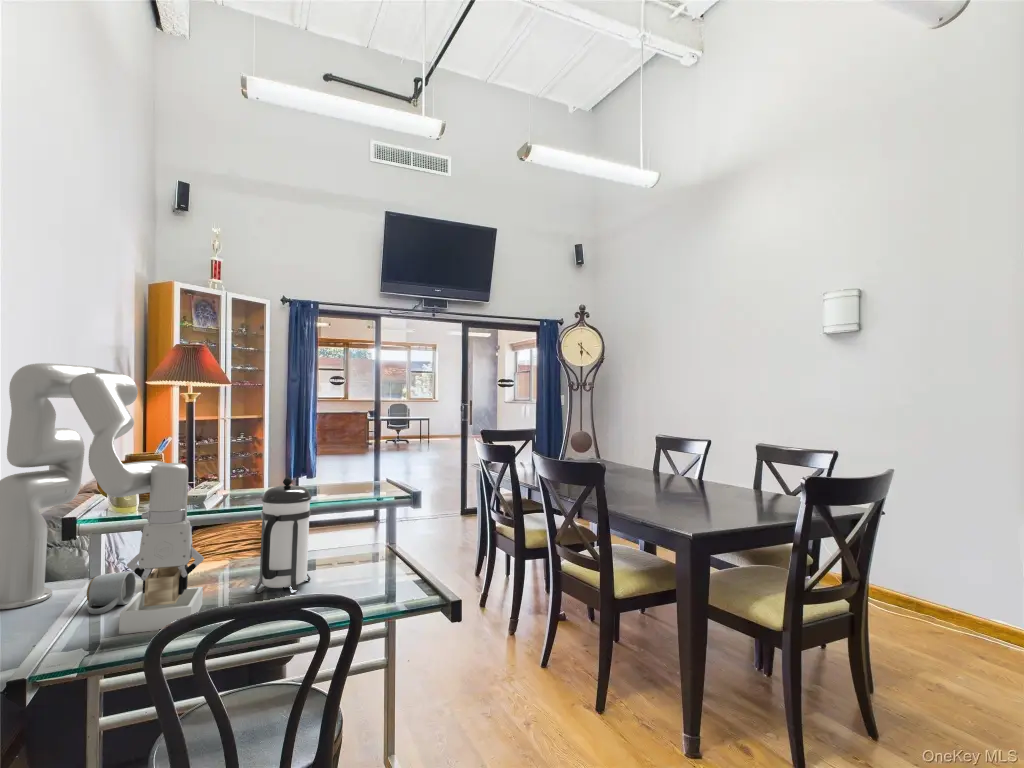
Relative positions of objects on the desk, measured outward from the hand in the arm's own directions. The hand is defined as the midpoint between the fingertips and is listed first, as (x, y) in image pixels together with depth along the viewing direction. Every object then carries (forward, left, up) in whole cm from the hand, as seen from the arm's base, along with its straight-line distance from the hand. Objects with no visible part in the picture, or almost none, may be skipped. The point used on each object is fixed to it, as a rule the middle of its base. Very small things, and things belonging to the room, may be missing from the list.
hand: (165, 593), depth 126 cm
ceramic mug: (-14, +12, -6) cm, 20 cm away
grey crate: (0, 0, -6) cm, 6 cm away
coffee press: (+25, +14, -6) cm, 29 cm away
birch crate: (0, 0, -1) cm, 1 cm away
